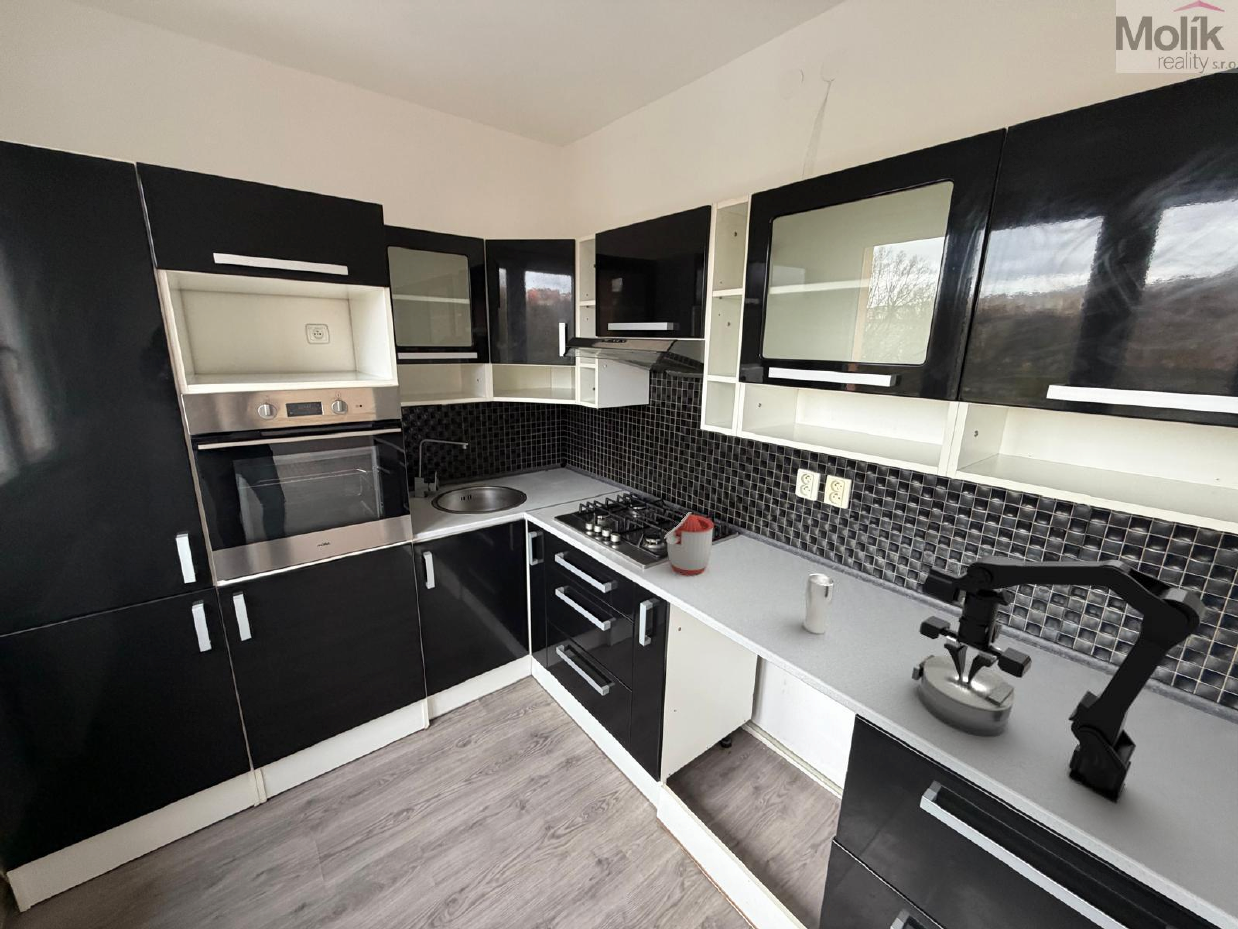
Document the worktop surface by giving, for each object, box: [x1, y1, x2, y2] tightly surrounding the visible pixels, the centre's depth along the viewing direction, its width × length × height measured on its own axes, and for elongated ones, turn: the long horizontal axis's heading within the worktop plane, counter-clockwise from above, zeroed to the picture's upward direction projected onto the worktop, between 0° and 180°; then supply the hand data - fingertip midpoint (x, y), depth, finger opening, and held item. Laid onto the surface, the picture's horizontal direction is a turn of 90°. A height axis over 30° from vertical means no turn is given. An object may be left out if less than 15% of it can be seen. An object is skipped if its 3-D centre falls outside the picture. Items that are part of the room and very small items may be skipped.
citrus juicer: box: [665, 513, 715, 576], centre depth 165 cm, size 16×17×20 cm
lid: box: [919, 654, 1015, 711], centre depth 104 cm, size 16×16×2 cm
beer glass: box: [802, 573, 835, 635], centre depth 132 cm, size 7×7×15 cm
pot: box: [911, 655, 1014, 738], centre depth 106 cm, size 17×16×6 cm
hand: (965, 678), depth 104 cm, fingers closed on lid
